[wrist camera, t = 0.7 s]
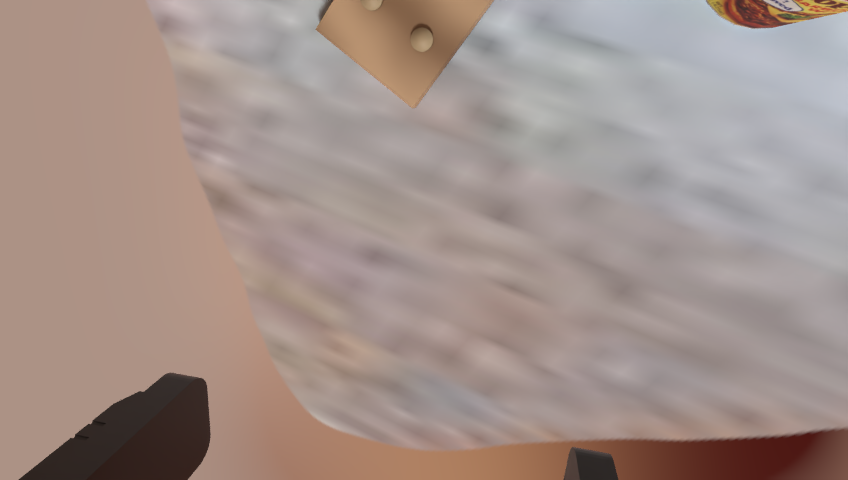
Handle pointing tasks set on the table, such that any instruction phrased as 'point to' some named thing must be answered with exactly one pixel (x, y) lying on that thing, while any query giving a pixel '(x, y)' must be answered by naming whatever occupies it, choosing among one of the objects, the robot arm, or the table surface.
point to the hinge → (402, 38)
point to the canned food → (774, 11)
